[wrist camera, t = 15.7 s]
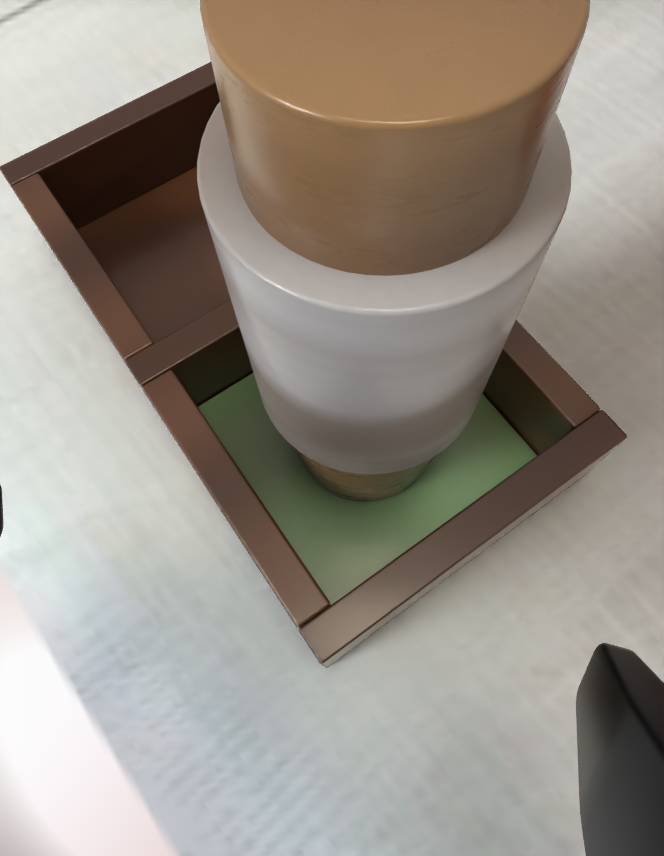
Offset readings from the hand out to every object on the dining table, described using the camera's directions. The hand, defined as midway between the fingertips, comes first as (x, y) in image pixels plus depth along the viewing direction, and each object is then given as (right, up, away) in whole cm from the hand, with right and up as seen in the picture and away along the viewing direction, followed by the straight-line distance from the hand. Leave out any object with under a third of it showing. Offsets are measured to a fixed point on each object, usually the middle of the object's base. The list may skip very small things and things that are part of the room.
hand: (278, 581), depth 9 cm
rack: (-1, +5, +13) cm, 14 cm away
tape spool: (+2, +2, +11) cm, 11 cm away
